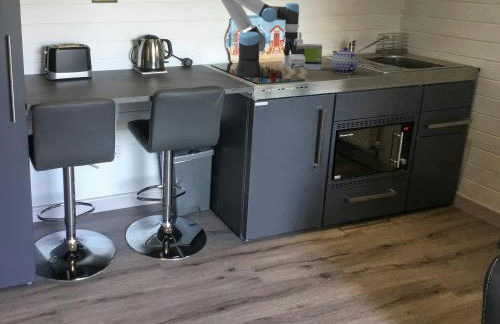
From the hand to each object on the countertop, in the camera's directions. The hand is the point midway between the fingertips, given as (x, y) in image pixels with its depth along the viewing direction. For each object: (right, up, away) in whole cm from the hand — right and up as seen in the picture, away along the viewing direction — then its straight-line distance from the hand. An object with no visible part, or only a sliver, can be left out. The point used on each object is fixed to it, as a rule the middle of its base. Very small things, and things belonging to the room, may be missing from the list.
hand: (289, 68), depth 334 cm
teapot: (+33, -1, +9) cm, 34 cm away
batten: (+3, -7, -13) cm, 15 cm away
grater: (+5, +8, +35) cm, 36 cm away
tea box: (+13, +3, +19) cm, 23 cm away
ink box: (+2, -5, -7) cm, 9 cm away
